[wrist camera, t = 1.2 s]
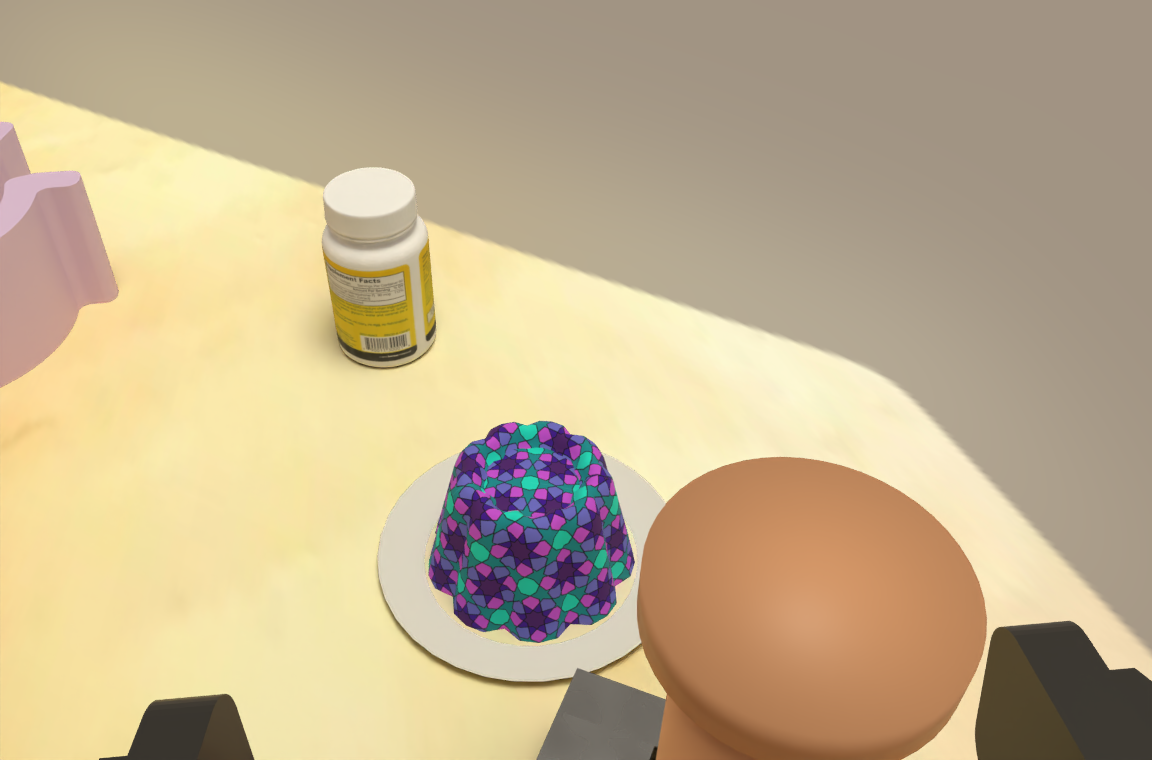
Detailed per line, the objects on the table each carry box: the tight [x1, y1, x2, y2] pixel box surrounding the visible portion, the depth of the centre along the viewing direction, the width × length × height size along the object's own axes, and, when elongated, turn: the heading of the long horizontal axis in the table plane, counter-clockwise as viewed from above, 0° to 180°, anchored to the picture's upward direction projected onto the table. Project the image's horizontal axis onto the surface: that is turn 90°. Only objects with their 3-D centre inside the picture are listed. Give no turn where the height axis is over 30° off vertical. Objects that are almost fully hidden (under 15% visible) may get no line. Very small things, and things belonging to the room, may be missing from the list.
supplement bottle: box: [322, 167, 436, 367], centre depth 48 cm, size 5×5×8 cm
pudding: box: [378, 421, 666, 681], centre depth 40 cm, size 12×12×5 cm
